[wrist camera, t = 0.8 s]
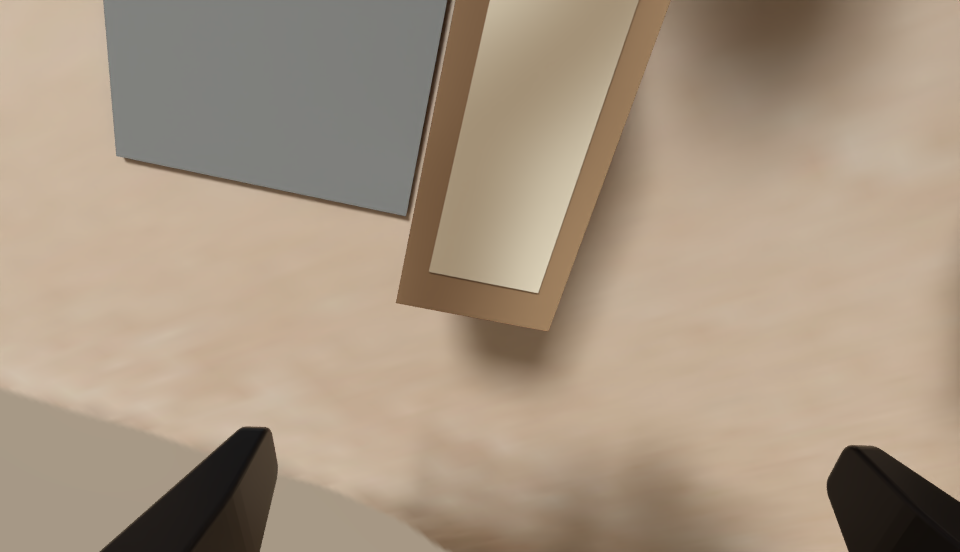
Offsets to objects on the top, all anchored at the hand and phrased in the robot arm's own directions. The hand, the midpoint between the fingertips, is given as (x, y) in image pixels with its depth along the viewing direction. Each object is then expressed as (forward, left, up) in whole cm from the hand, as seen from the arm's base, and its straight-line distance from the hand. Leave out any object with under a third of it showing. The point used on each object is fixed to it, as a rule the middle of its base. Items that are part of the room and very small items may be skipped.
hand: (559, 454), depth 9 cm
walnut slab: (+1, -4, -13) cm, 14 cm away
